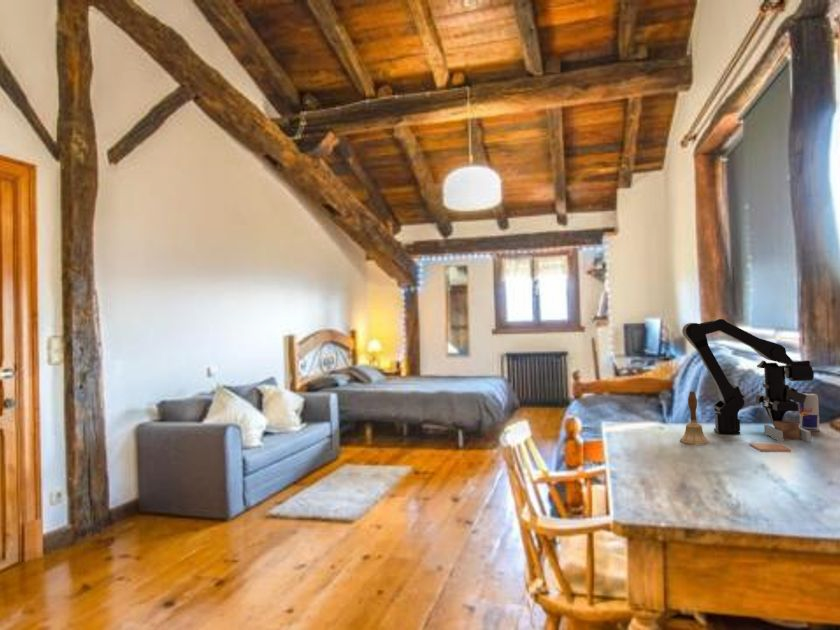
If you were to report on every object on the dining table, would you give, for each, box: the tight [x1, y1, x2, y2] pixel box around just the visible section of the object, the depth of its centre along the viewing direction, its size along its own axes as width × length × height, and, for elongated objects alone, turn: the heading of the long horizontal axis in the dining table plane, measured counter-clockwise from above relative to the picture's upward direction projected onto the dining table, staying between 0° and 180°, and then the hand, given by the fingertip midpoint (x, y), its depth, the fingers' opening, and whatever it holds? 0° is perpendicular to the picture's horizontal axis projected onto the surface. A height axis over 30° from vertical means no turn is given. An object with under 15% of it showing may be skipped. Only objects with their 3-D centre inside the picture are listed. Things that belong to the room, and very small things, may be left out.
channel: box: [763, 424, 812, 443], centre depth 173 cm, size 9×11×3 cm
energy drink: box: [798, 392, 820, 432], centre depth 183 cm, size 5×5×12 cm
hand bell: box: [679, 390, 710, 445], centre depth 173 cm, size 8×8×16 cm
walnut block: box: [773, 420, 801, 441], centre depth 173 cm, size 5×5×5 cm
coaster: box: [749, 442, 792, 453], centre depth 161 cm, size 8×8×1 cm
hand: (777, 428), depth 180 cm, fingers closed
